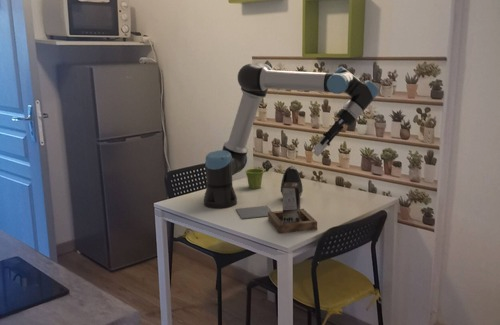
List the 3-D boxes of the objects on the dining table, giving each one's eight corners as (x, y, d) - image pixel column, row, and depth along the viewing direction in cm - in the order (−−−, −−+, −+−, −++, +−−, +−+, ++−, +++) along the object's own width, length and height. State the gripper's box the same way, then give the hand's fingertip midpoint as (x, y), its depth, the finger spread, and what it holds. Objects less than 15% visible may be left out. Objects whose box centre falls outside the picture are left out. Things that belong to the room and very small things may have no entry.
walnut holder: (279, 233, 187) (279, 225, 186) (268, 219, 203) (268, 212, 203) (317, 229, 190) (317, 221, 189) (303, 215, 206) (303, 208, 206)
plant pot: (265, 185, 254) (265, 168, 252) (262, 190, 245) (261, 173, 243) (248, 184, 256) (247, 168, 254) (243, 189, 247) (243, 172, 245)
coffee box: (299, 228, 192) (298, 188, 188) (282, 227, 193) (281, 187, 189) (300, 220, 200) (300, 181, 197) (285, 219, 202) (284, 181, 198)
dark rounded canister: (302, 195, 235) (302, 164, 231) (302, 201, 224) (302, 169, 221) (281, 195, 236) (280, 164, 232) (280, 201, 226) (279, 169, 222)
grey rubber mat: (241, 219, 204) (241, 218, 204) (235, 209, 216) (235, 208, 216) (274, 215, 207) (274, 214, 207) (267, 206, 219) (266, 205, 219)
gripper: (359, 113, 192) (323, 155, 192) (353, 124, 216) (321, 161, 217) (344, 101, 193) (308, 142, 193) (340, 113, 218) (308, 150, 218)
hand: (315, 152), depth 205 cm, fingers open, 13 cm apart
